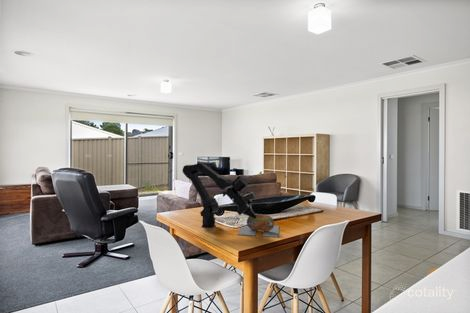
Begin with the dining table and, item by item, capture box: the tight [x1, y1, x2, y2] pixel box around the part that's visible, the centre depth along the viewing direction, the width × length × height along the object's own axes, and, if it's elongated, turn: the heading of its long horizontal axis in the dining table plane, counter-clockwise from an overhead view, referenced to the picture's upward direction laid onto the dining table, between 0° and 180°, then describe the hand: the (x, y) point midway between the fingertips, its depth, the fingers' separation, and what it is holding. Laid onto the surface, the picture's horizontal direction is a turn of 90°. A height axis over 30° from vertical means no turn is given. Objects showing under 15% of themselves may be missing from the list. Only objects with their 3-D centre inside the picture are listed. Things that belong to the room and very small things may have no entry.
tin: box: [246, 213, 275, 232], centre depth 152 cm, size 15×3×8 cm, turn 66°
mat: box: [237, 225, 280, 238], centre depth 153 cm, size 21×20×1 cm
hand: (255, 217), depth 151 cm, fingers closed
